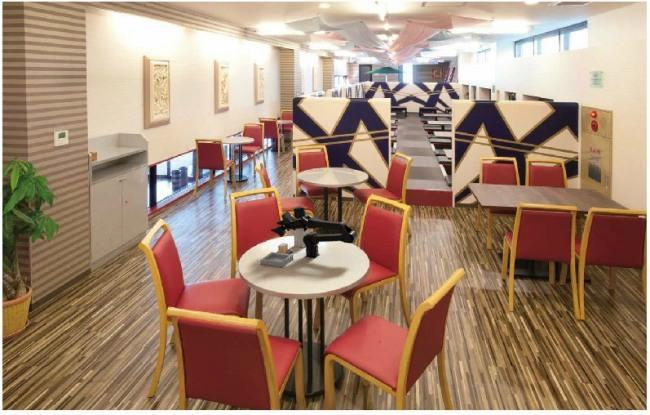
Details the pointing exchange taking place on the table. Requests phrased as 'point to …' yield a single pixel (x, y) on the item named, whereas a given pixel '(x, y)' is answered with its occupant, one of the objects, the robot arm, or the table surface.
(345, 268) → the table surface
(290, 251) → the holder
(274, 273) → the table surface
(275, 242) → the table surface
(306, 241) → the robot arm
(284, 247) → the white and orange block
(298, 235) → the supplement box
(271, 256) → the tray
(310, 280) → the table surface
